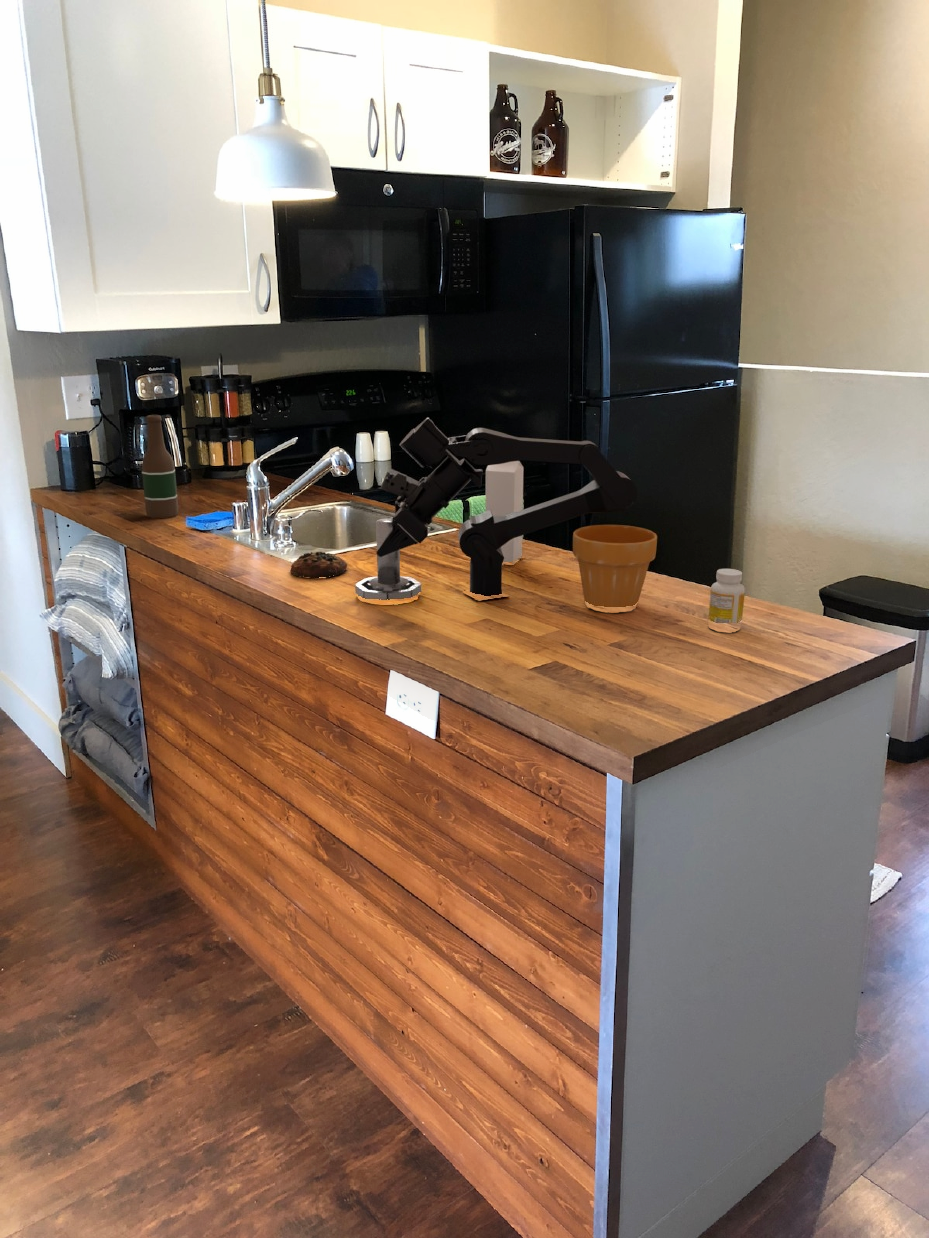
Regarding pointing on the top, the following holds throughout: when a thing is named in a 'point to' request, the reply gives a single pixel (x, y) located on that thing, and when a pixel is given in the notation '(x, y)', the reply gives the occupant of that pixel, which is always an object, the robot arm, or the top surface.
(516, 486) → the milk
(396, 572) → the grey cylinder with base
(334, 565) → the bread roll
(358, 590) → the grey octagonal ring
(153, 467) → the beer bottle
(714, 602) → the supplement bottle
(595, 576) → the flower pot
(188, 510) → the top surface
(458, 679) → the top surface
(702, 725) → the top surface
